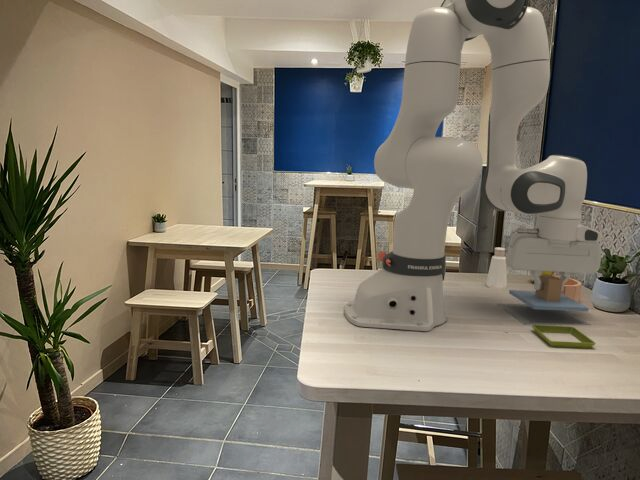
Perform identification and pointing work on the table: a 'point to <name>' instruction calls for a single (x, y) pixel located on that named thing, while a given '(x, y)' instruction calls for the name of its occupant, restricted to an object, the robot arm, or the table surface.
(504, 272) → the salt shaker
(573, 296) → the bowl
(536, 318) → the mat
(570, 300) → the lid
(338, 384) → the table surface
